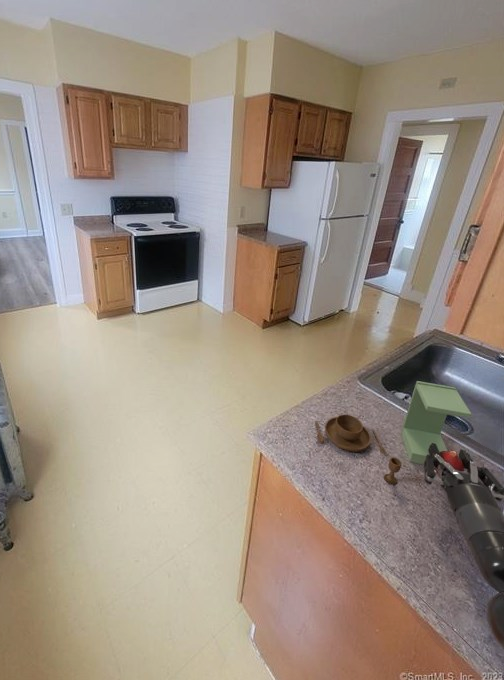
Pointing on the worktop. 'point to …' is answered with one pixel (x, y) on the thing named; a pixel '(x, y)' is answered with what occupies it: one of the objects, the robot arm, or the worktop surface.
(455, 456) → the onion
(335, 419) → the place setting
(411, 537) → the worktop surface
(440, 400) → the shelf
